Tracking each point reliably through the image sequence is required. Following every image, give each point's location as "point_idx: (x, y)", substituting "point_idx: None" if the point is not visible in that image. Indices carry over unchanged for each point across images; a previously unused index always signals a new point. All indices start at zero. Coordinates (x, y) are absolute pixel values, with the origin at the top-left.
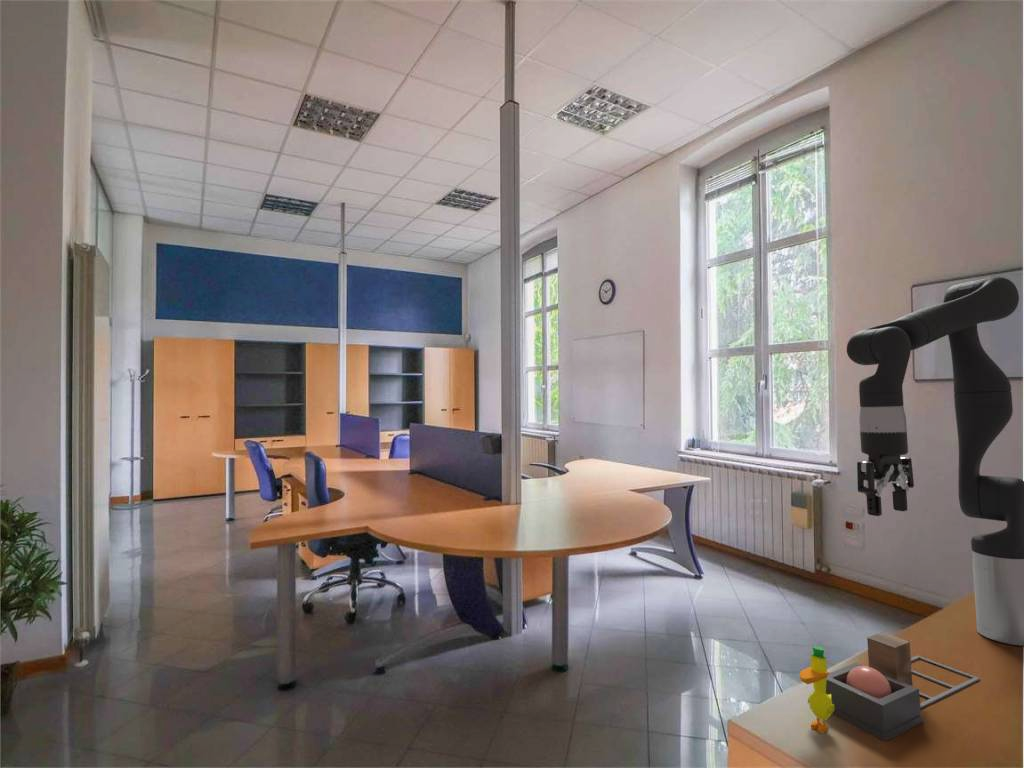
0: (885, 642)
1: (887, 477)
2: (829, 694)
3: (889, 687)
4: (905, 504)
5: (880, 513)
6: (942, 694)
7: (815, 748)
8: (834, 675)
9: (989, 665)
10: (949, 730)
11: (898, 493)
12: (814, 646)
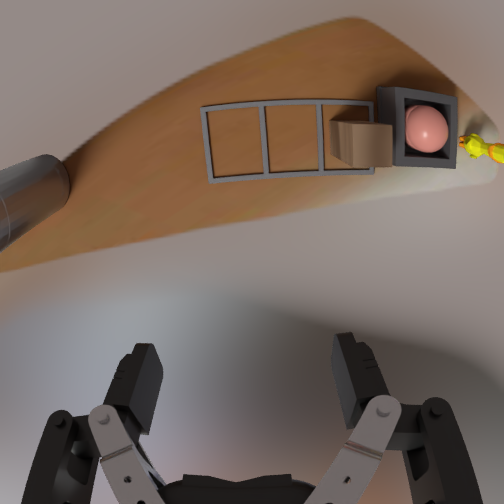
0: (386, 142)
1: (332, 497)
2: (467, 145)
3: (424, 107)
4: (140, 361)
5: (347, 336)
6: (296, 102)
7: (484, 128)
8: (443, 160)
9: (143, 131)
10: (366, 65)
11: (140, 415)
12: None
